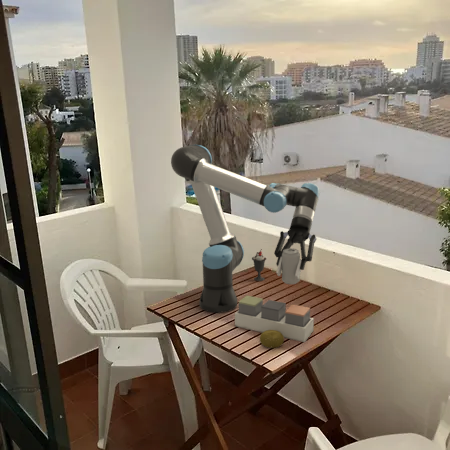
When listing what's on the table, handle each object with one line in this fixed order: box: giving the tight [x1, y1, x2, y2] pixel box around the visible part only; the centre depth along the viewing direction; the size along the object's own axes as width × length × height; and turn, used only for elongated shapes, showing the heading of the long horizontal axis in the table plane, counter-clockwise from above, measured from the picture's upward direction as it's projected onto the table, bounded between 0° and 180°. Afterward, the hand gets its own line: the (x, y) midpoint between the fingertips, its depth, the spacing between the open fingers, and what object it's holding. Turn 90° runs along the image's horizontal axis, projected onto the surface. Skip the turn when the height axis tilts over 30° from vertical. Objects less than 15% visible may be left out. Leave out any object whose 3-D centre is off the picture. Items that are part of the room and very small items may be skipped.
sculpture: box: [259, 330, 285, 349], centre depth 155 cm, size 8×4×8 cm
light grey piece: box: [234, 309, 315, 343], centre depth 165 cm, size 26×9×5 cm, turn 61°
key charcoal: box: [261, 299, 287, 322], centre depth 164 cm, size 6×6×6 cm
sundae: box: [251, 248, 267, 282], centre depth 213 cm, size 7×7×15 cm
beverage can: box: [281, 248, 301, 285], centre depth 168 cm, size 6×6×12 cm
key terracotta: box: [285, 303, 311, 327], centre depth 160 cm, size 6×6×6 cm
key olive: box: [238, 295, 264, 317], centre depth 169 cm, size 6×6×6 cm
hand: (287, 275), depth 166 cm, fingers closed on beverage can, 6 cm apart
